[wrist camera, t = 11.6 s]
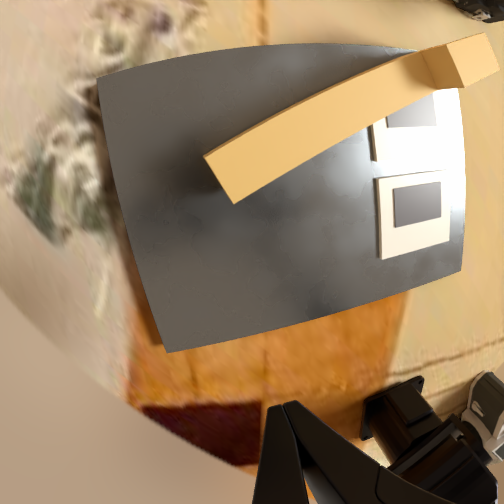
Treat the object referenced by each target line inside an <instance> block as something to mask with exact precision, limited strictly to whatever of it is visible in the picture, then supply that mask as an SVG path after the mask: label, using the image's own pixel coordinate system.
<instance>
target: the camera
mask: <svg viewBox="0 0 504 504" xmlns="http://www.w3.org/2000/svg"><path fill="white" fill-rule="evenodd" d="M461 422H462V423H463V424H464V425H465V427H466V428H467V429H468V430H469V431H470V432H471V433H472V434H473V436H474V437H475V438H476V439H477V440H478V441H479V442H480V444H481V445H482V446H483V447H484V448H485V450H486V451H487V452H488V453H489V455H490V456H491V457H492V459H493V461H492V462H491V463H490V464H488V465H487V466H489V465H492V464H496V463H500V462H502V461H503V459H504V384H503V382H501V381H500V380H499V379H498V378H497V377H496V376H495V375H494V373H493V372H490V371H489V370H484V371H483V372H482V373H480V374H479V375H478V376H477V377H476V378H475V379H474V381H473V383H472V384H471V386H470V392H469V398H468V404H467V409H466V410H465V411H464V412H463V413H462V417H461ZM461 436H462V434H460V435H459V436H458V437H457V438H456V440H458V439H459V438H460V437H461Z"/></svg>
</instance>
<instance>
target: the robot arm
mask: <svg viewBox="0 0 504 504" xmlns="http://www.w3.org/2000/svg"><path fill="white" fill-rule="evenodd" d="M423 384H424V378H423V377H422V376H418V377H416V378H414V379H412V380H410V381H407V382H405V383H403V384H401V385H398V386H396V387H394V388H392V389H389V390H387V391H384V392H382V393H380V394H377V395H375V396H372V397H370V398H368V399H366V400H365V401H364V405H363V414H362V423H361V430H360V439H361V440H362V441H364V440H367V439H370V438H372V437H374V438H375V440H376V442H377V443H378V445H379V447H380V448H381V450H382V451H383V453H384V455H385V456H386V458H387V460H388V461H389V463H390V466H389V467H387V468H385V467H384V466H382V465H381V466H380V464H379V463H378V462H377V461H375V460H374V459H372V458H371V457H370V456H368V455H367V454H366V453H364V452H363V451H361V450H360V449H359V448H357V447H356V446H355V445H353V444H352V443H351V442H349V441H348V440H347V439H345V438H344V437H343V436H341V435H340V434H339V433H337V432H336V431H335V430H334V429H332V428H331V427H330V426H328V425H327V424H326V423H325V422H323V421H322V420H321V419H320V418H318V417H317V416H316V415H315V414H313V413H312V412H311V411H310V410H308V409H307V408H306V407H305V406H303V405H302V404H301V403H300V402H298V401H297V400H293V401H290V402H286V403H284V404H283V406H282V405H281V404H279V405H275V406H271V407H269V408H268V409H267V415H266V422H265V428H264V435H263V441H262V447H261V454H260V460H259V466H258V472H257V478H256V484H255V489H254V495H253V500H252V504H309V500H308V495H307V490H306V485H305V480H306V482H307V484H308V486H309V488H310V490H311V492H312V494H313V496H314V498H315V499H316V501H317V503H318V504H498V501H497V500H498V483H497V480H496V478H495V477H494V476H493V474H492V473H491V472H490V471H489V469H488V468H487V467H486V466H487V465H488V464H490V463H491V462H492V461H493V459H492V457H491V456H490V455H489V453H488V452H487V451H486V450H485V448H484V447H483V446H482V445H481V444H480V442H479V441H478V440H477V439H476V438H475V437H474V436H473V434H472V433H471V432H470V431H469V430H468V429H467V428H466V427H465V425H464V424H463V423H462V422H461V421H460V420H459V419H458V418H457V417H456V416H455V414H454V413H452V414H451V415H449V416H448V417H449V418H448V419H446V420H445V421H444V422H442V421H441V419H440V418H439V417H438V416H437V415H436V413H435V412H434V411H433V408H432V407H431V406H430V405H429V403H428V402H427V401H426V400H425V399H424V398H423V396H422V395H421V392H422V388H423ZM460 434H462V436H461V437H460V438H459V439H458V440H456V438H457V437H458V436H459V435H460ZM304 478H305V480H304Z"/></svg>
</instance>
